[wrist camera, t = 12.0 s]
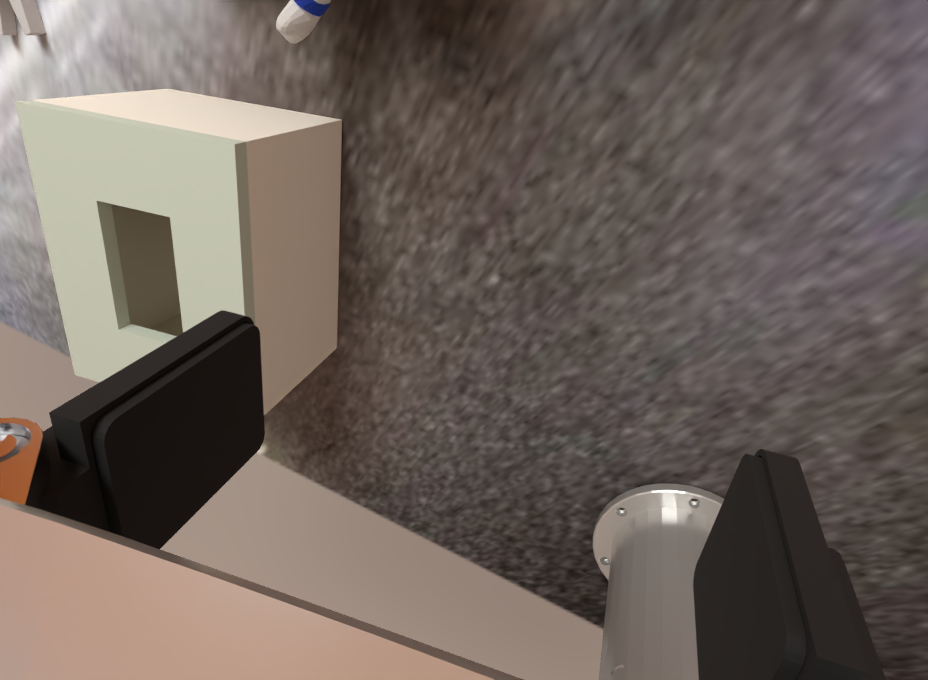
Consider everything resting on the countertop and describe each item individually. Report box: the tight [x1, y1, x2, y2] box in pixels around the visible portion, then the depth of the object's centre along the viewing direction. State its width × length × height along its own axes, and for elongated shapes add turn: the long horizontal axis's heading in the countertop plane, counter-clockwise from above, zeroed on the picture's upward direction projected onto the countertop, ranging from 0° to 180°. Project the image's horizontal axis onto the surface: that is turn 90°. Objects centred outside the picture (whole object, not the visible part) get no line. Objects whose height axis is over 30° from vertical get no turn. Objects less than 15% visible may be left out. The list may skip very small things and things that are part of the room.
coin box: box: [15, 89, 342, 415], centre depth 41 cm, size 18×14×12 cm
